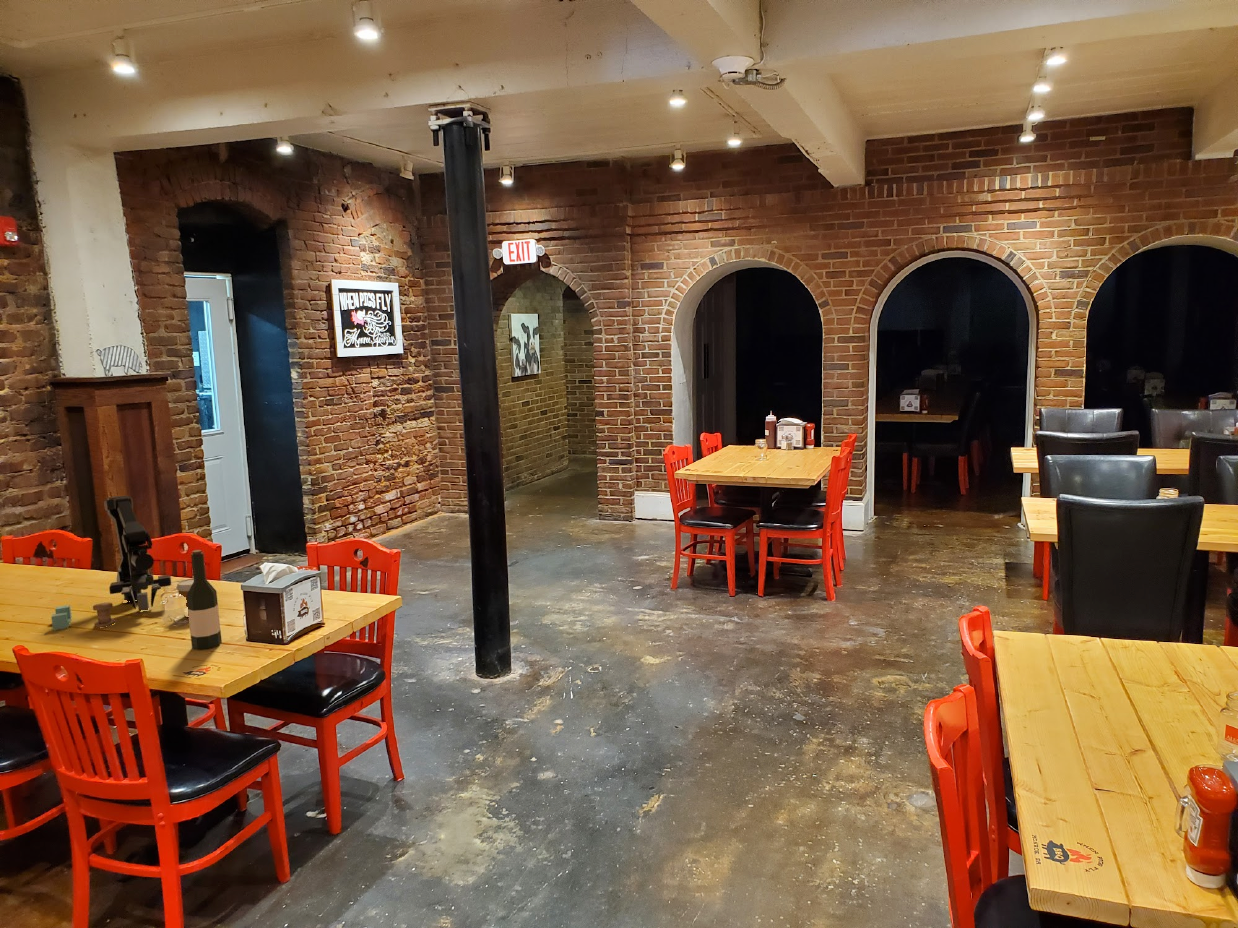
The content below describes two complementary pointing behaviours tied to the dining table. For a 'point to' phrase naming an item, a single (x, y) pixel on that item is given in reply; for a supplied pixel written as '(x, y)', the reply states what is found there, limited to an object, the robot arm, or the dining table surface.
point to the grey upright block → (142, 601)
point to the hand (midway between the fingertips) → (143, 607)
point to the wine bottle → (202, 608)
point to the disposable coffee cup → (184, 587)
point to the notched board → (61, 617)
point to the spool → (103, 614)
